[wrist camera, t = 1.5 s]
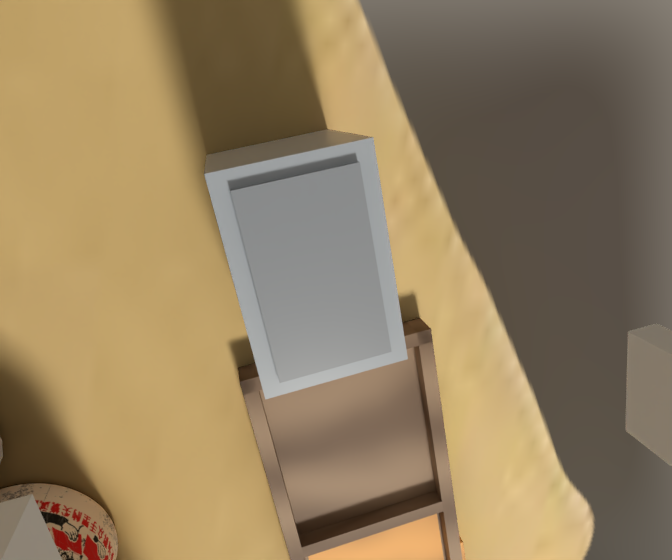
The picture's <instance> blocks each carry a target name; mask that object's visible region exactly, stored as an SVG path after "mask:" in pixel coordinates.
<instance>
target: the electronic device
mask: <svg viewBox="0 0 672 560" xmlns="http://www.w3.org/2000/svg"><path fill="white" fill-rule="evenodd" d="M2 458H3V448H2V439H1V437H0V463H1V460H2Z"/></svg>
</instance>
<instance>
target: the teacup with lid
mask: <svg viewBox="0 0 672 560" xmlns="http://www.w3.org/2000/svg"><path fill="white" fill-rule="evenodd" d="M30 494H33V496H34V499H35V501H36V503H37V505H38V507H39V510H40V512H41V514H42V516H43V519H44V521H45V523H46V525H47V527H48V530H49V532H50V534H51V536H52V538H53V541H54V543H55V545H56V547H57V549H58V552H59V554H60V556H61V558H62V560H116V558H117V552H118V538H117V533H116V529H115V526H114V524H113V522H112V520H111V518H110V517H109V515H108V514H107V513H106V511H105V510H104V509H103V508H102V507H101V506H100V505H99V504H98V503H97V502H95V501H94V500H92V499H91V498H90V497H88V496H86V495H84V494H82V493H80V492H78V491H76V490H73V489H70V488H67V487H63V486H59V485H53V484H44V483H32V484H21V485H15V486H10V487H6V488H3V489H0V503H1V502H5V501H8V500H12V499H16V498H19V497H23V496H27V495H30Z"/></svg>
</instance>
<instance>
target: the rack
mask: <svg viewBox="0 0 672 560" xmlns="http://www.w3.org/2000/svg"><path fill="white" fill-rule="evenodd" d="M402 324H403V331H404V337H405V343H406V350H407V356H408V359H406V360H403V361H399V362H396V363H392V364H389V365H385V366H382V367H378V368H375V369H371V370H368V371H364V372H361V373H357V374H354V375H350V376H347V377H343V378H339V379H336V380H332V381H329V382H325V383H322V384H318V385H315V386H311V387H308V388H304V389H301V390H297V391H294V392H290V393H287V394H283V395H280V396H276V397H273V398H269V399H266V400H265V396H264V393H263V389H262V385H261V382H260V378H259V374H258V371H257V367H256V363H254V364H250V365H246V366H243V367H239V368H238V371H239V381H240V385H241V388H242V392H243V395H244V399H245V402H246V406H247V409H248V413H249V416H250V420H251V423H252V427H253V430H254V434H255V437H256V441H257V444H258V448H259V451H260V454H261V458H262V461H263V465H264V468H265V472H266V475H267V479H268V482H269V486H270V489H271V493H272V496H273V500H274V503H275V507H276V510H277V514H278V517H279V521H280V524H281V528H282V531H283V535H284V538H285V541H286V545H287V548H288V552H289V555H290V559H291V560H465V553H464V546H463V541H462V540H461V538H460V536H459V531H458V524H457V516H456V509H455V502H454V495H453V487H452V480H451V473H450V465H449V458H448V451H447V444H446V436H445V429H444V422H443V414H442V407H441V400H440V392H439V385H438V378H437V371H436V363H435V356H434V349H433V341H432V334H431V329H430V328H429V327H428V326H427V325H426V324H425V323H424V322H423V321H422V320H421V319H420V318H419V319H415V320H411V321H408V322H404V323H402Z"/></svg>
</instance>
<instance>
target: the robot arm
mask: <svg viewBox="0 0 672 560" xmlns="http://www.w3.org/2000/svg"><path fill="white" fill-rule="evenodd" d="M627 354H628V355H627V393H626V431H627V432H628V433H629V434H631V435H632V436H633V437H634V438H636V439H637V440H639V441H640V442H641V443H642V444H644V445H645V446H646V447H647V448H649V449H650V450H651V451H652V452H654V453H655V454H656V455H658V456H659V457H660V458H661V459H663V460H664V461H665V462H667V463H668V464H669V465H670V466H672V331H671V330H669V329H667V328H665V327H663V326H661V325H659V324H654V325H650V326H646V327H643V328H639V329H635V330H632V331H629V332H628V352H627ZM0 560H62V558H61V556H60V554H59V552H58V549H57V547H56V545H55V543H54V541H53V538H52V536H51V534H50V532H49V530H48V527H47V525H46V523H45V521H44V519H43V516H42V514H41V512H40V510H39V507H38V505H37V503H36V501H35V499H34V496H33V494H30V495H27V496H23V497H19V498H16V499H12V500H8V501H5V502H1V503H0Z"/></svg>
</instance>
